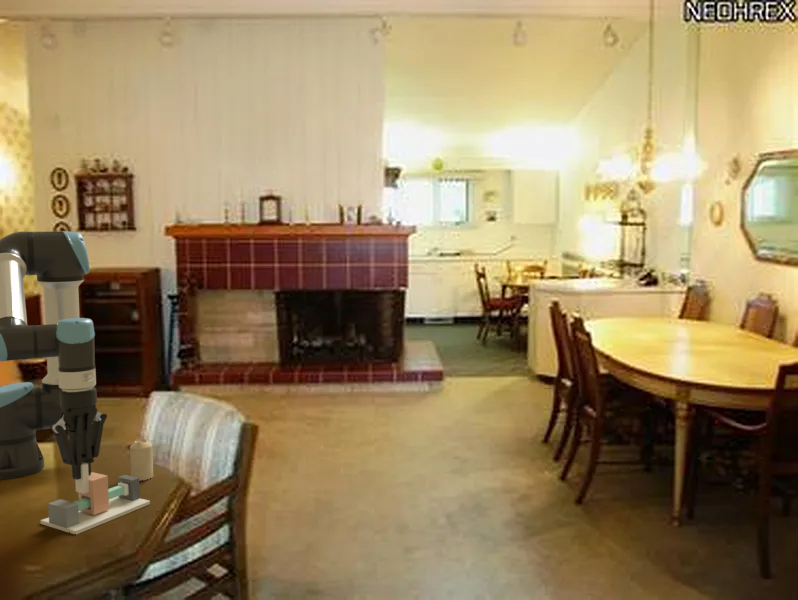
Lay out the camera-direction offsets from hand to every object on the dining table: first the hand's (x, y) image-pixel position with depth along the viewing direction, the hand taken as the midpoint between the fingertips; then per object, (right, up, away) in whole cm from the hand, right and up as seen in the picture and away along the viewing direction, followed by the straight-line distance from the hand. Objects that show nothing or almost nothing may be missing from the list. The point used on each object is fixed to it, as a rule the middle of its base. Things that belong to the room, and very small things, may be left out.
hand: (82, 491), depth 162 cm
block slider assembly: (+2, -6, +4) cm, 7 cm away
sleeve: (+1, -5, +3) cm, 6 cm away
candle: (+3, -4, +28) cm, 29 cm away
